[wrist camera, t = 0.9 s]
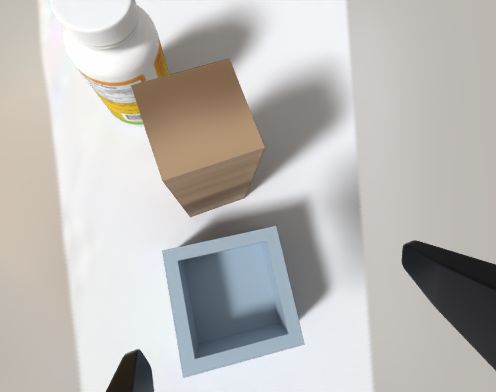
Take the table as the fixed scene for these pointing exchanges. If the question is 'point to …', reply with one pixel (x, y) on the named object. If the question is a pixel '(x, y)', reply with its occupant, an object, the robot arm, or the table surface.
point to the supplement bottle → (112, 49)
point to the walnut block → (201, 135)
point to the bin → (231, 300)
